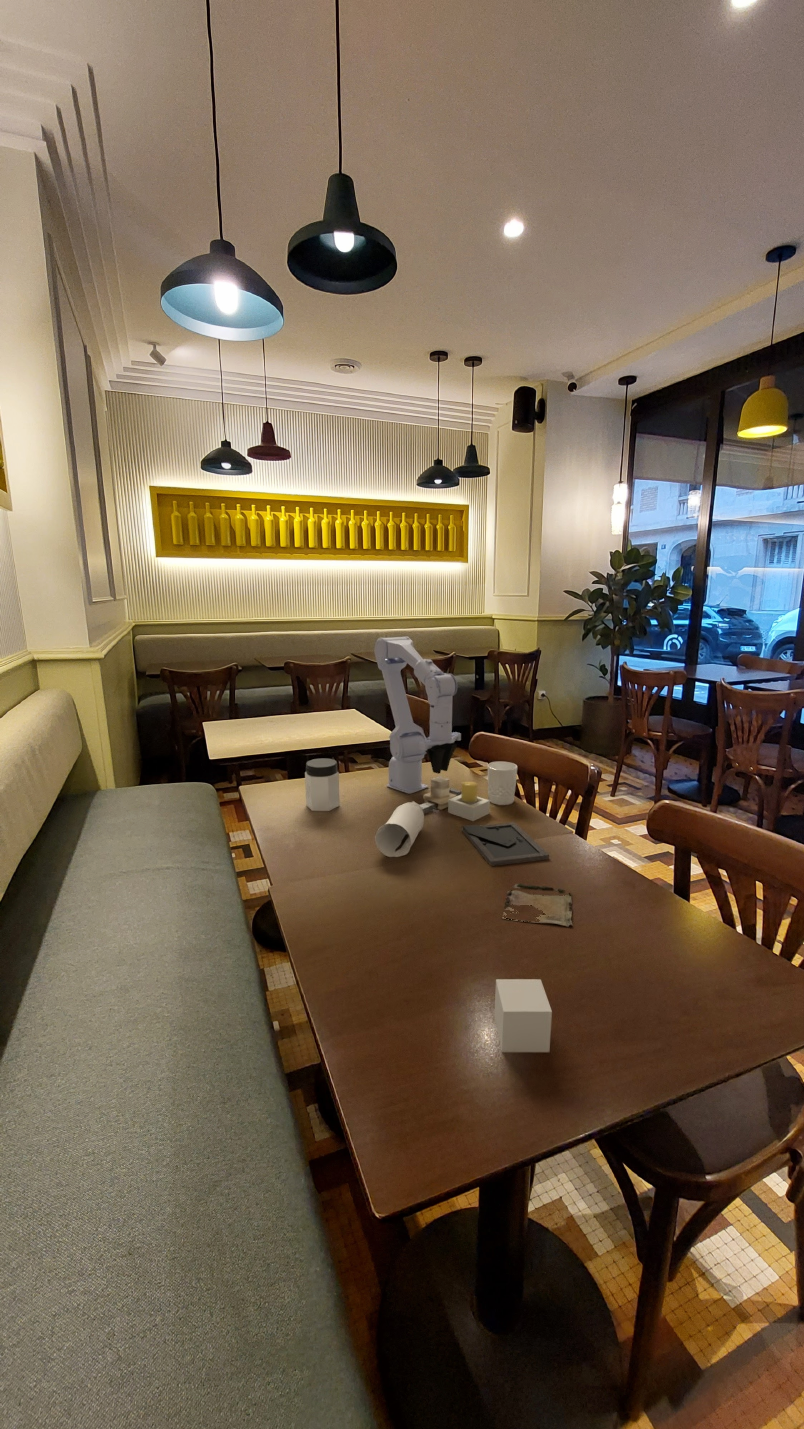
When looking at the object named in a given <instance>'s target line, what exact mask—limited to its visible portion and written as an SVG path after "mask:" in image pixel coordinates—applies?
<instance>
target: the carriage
mask: <svg viewBox="0 0 804 1429" xmlns="http://www.w3.org/2000/svg"><path fill="white" fill-rule="evenodd" d="M449 789H450V778H447V777H443V776H437V777H433V778H431V779H430V791H429V792H428V793H424V794H423V795H422V796H423V798H422V799H423V804H424V803H426V802H429V801H432V802H435V803H438V808H437V809H438V810H440V811H441V810H444V809H446V808H448V800H449V799H451V798H454V797H456V795H454V794H451V793H449Z"/></svg>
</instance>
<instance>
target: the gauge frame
mask: <svg viewBox="0 0 804 1429" xmlns="http://www.w3.org/2000/svg"><path fill="white" fill-rule="evenodd" d="M447 808H448V809H447V813H448V814H451V815H454V816H457V817H460V818H463V819H466V820H468V821H472V822H475V821H477V820H478V819H482V817H485V816H487V815H489V814H491V812H490V809H491V802H490V800H489V799H487V798H483V797H479V796H477V800H476V801H474V802H466V801H463V800H462V799H461V795H459V796H456V797H454V798H451V799H449V800H448V807H447Z"/></svg>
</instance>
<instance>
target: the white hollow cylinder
mask: <svg viewBox="0 0 804 1429" xmlns="http://www.w3.org/2000/svg"><path fill="white" fill-rule="evenodd" d="M420 805H421V804H419V803H417V802H415V801H414V800H412V801H411V802H405V803H403V804H400V805H398V806H397V807H396V808H395V809H394V810H393V813H392V814H391V815H390V818H389V819H388V820H387V822H386V823H384V824H383V825H381V826H379V827H378V829H377V831H376V833H375V837H374V841H375V846H377V848H378V850H379V851H380V852H381V854H383V855H385V856H387V857H389V858H392V857H396V858H399V857H402V856H405V855H407V854H408V853H409V852H410V850H411V847H412V846H413V844H414V843H415V840H416V838H417V837H418V834H419V833H420V832H421V831H422V829H423V828H424V823H425V814H424V813H423V811H422V807H421V806H420ZM406 835H407V838H406V840H405V841H404V843H403V844H402V841H403V839H404V838H405V836H406ZM401 844H402V846H401V848H399V846H400V845H401ZM397 848H399V849H397ZM396 849H397V850H396Z"/></svg>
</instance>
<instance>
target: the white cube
mask: <svg viewBox="0 0 804 1429" xmlns="http://www.w3.org/2000/svg"><path fill="white" fill-rule="evenodd" d="M494 992H495V993H494V994H495V996H494V1022H495V1027H496V1031H497V1035H498V1036H497V1037H498V1040H499V1044H500V1050H501V1051H500V1052H501V1053H550V1046H551V1033H552V1032H551V1031H552V1018H553V1017H552V1015H553V1011H552V1007H551V1005H550V1002H549V999H548V996H547V992H546V991H545V988H544V985H543V982H542V979H535V978H532V979H529V978H528V979H525V978H524V979H523V978H521V979H520V978H515V979H514V978H513V979H510V978H509V979H507V978H506V979H505V978H504V979H502V978H501V979H500V978H499V979H498V978H497V979H495V991H494Z"/></svg>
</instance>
